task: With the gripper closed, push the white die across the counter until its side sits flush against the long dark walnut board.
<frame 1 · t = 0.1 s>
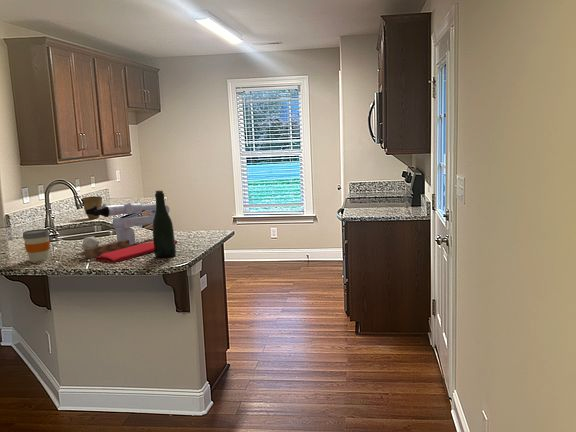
hand: (90, 212, 294), 22 cm above the worktop, tool horizontal, fingers open, 7 cm apart
die: (91, 251, 302), on the worktop
beer bottle: (165, 256, 279), on the worktop
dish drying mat: (138, 253, 291), on the worktop
reusable coffee cup: (39, 260, 288), on the worktop
walnut board: (108, 253, 295), on the worktop
plant pot: (94, 218, 425), on the worktop
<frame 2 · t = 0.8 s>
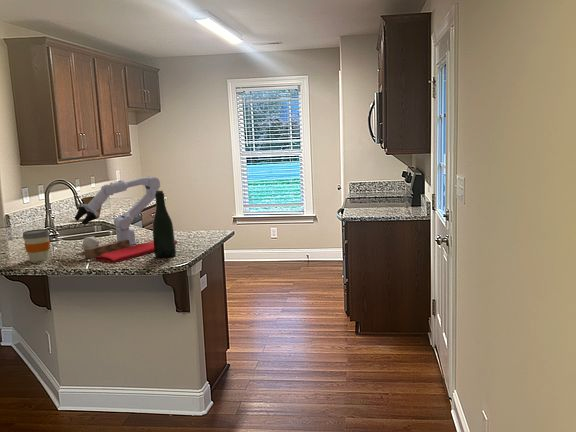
hand: (79, 221, 298), 17 cm above the worktop, tool tilted 50°, fingers open, 7 cm apart
nothing on the worktop moved.
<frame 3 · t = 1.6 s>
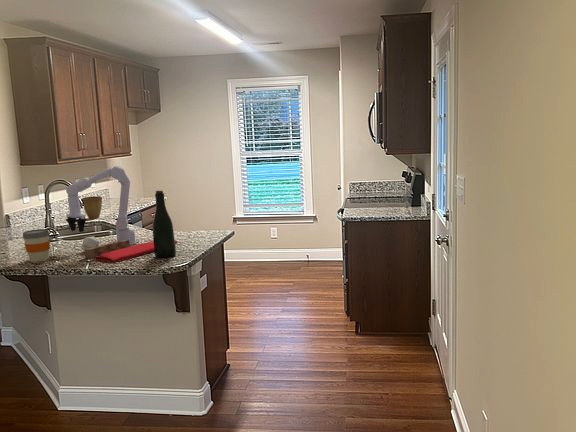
hand: (77, 231, 306), 10 cm above the worktop, tool pointing down, fingers open, 7 cm apart
nothing on the worktop moved.
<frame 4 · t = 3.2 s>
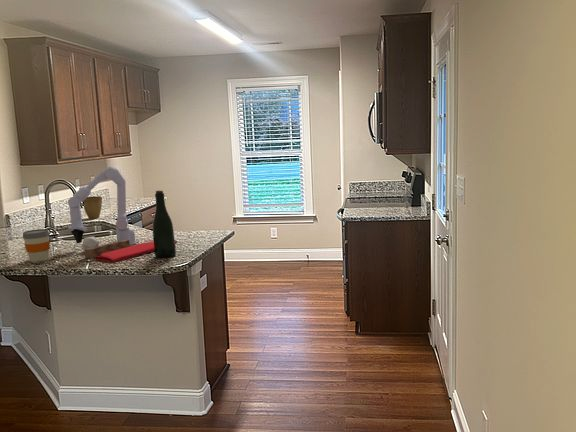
hand: (79, 242, 307), 4 cm above the worktop, tool pointing down, fingers closed
nothing on the worktop moved.
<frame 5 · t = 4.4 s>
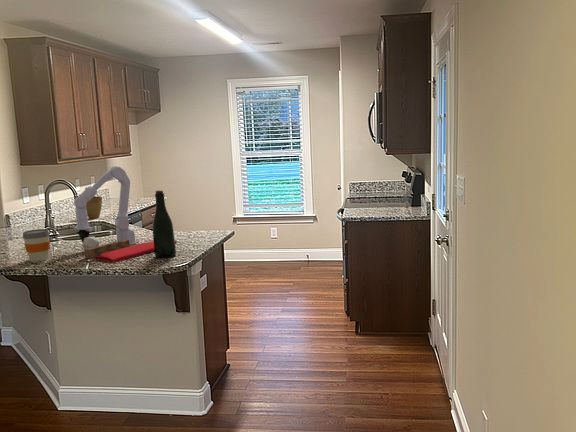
hand: (85, 243, 304), 4 cm above the worktop, tool pointing down, fingers closed
die: (91, 251, 302), on the worktop, touching gripper
everything else where it was.
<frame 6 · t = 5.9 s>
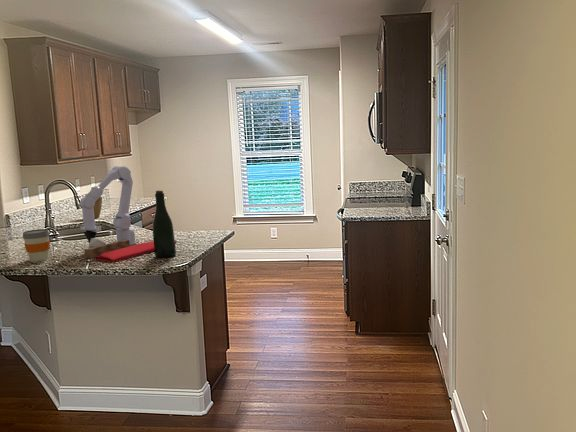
hand: (91, 244, 300), 4 cm above the worktop, tool pointing down, fingers closed
die: (97, 252, 298), on the worktop, touching gripper
everything else where it was.
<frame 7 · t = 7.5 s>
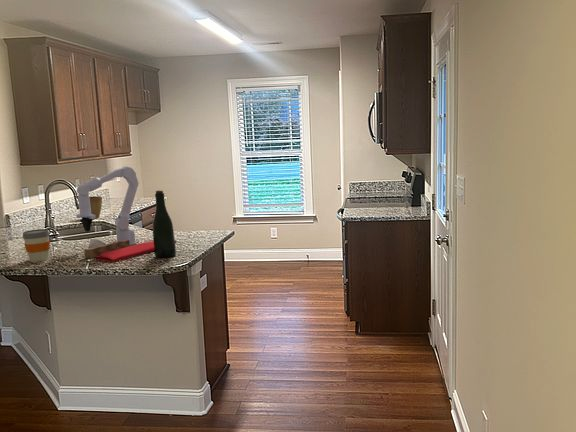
hand: (87, 231, 304), 10 cm above the worktop, tool pointing down, fingers closed
die: (97, 252, 298), on the worktop
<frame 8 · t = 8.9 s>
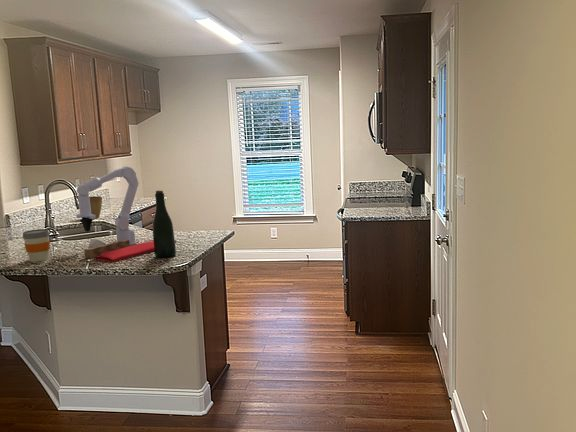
hand: (87, 231, 304), 10 cm above the worktop, tool pointing down, fingers closed
at the end: die inside the target area on the worktop beside the walnut board (0.8 cm from its centre), on the worktop; die tilted 1° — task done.
